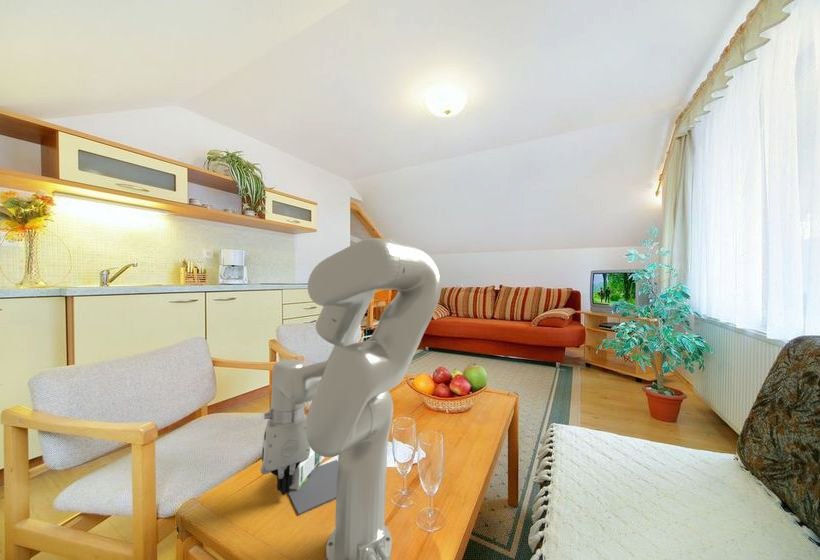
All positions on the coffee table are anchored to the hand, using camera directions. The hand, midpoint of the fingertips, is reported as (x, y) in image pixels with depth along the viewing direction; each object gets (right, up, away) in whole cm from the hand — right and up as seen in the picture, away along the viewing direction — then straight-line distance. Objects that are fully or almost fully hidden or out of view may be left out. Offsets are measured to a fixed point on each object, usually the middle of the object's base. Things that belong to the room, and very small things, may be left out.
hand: (284, 490), depth 70 cm
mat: (+7, -2, +5) cm, 9 cm away
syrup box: (0, +1, +2) cm, 3 cm away
